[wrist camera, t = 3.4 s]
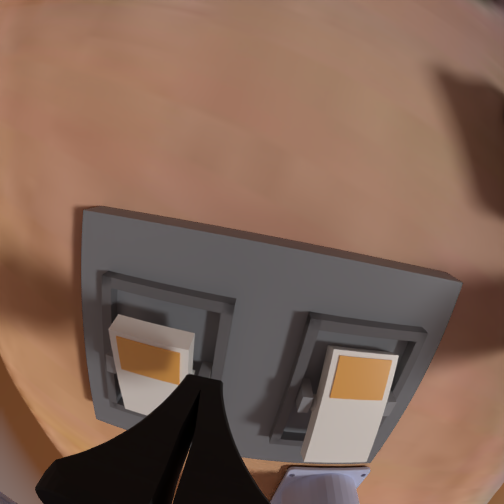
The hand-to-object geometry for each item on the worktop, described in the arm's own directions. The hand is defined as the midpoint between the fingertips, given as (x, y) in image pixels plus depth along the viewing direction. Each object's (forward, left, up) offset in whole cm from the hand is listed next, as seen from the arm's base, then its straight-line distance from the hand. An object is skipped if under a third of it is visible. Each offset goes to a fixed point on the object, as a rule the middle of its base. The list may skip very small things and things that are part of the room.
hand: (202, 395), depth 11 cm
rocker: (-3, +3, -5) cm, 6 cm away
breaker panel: (-3, -2, -8) cm, 8 cm away
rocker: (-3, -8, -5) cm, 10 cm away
